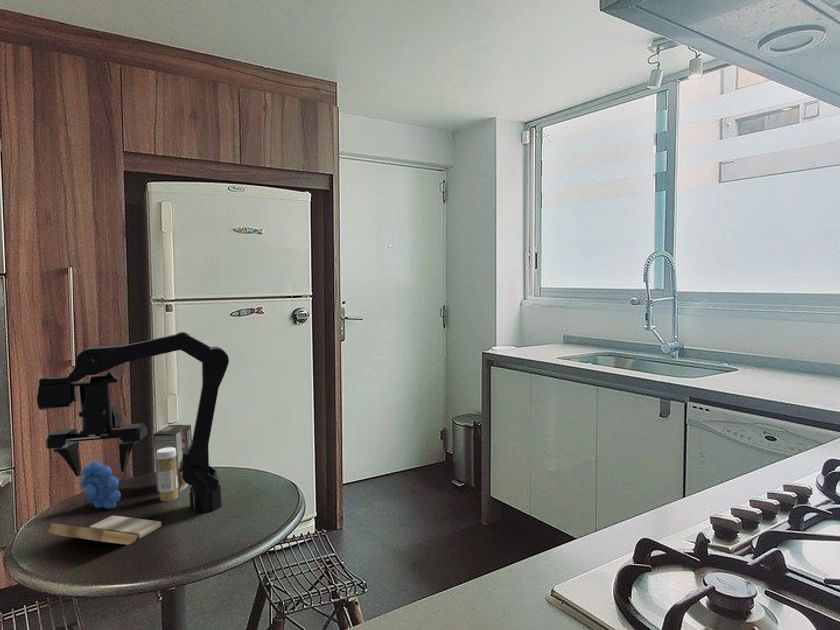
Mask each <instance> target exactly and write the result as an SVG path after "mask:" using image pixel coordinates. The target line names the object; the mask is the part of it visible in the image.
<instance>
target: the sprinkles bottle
mask: <svg viewBox="0 0 840 630" xmlns="http://www.w3.org/2000/svg"><path fill="white" fill-rule="evenodd" d="M156 458H157V463H158V484H159V493H158V494H159V501H161V502H170V501H174V500H177V498H179V493H178V481H177V470H176V449H175V448H173V447H168V448H162V449H159V450H157V451H156Z"/></svg>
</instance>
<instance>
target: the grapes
mask: <svg viewBox="0 0 840 630" xmlns="http://www.w3.org/2000/svg"><path fill="white" fill-rule="evenodd" d="M112 470H113V469H111V467H110V466H108V465H103V464H102V463H100V462H99V461H97V460H94V461H92V462H91V463H90V464H89V465H86V466H84V467H83V468H82V471H81V472H82V476H83V477H82V479H81V481H80V486H81V487H82V488H83V489H84V494H85V499H86V500H87V501H88V502H90V503H93V505H94V507H95V508H96V509H100V508H104V509H106V510H107V509H113V508H116V506H117V502H119V501H120V499H121V494H122V493H121V492H120V490H118V487H119V485H120V480H119V479H118V477H116V476H114V475H112V473H113V471H112Z"/></svg>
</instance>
